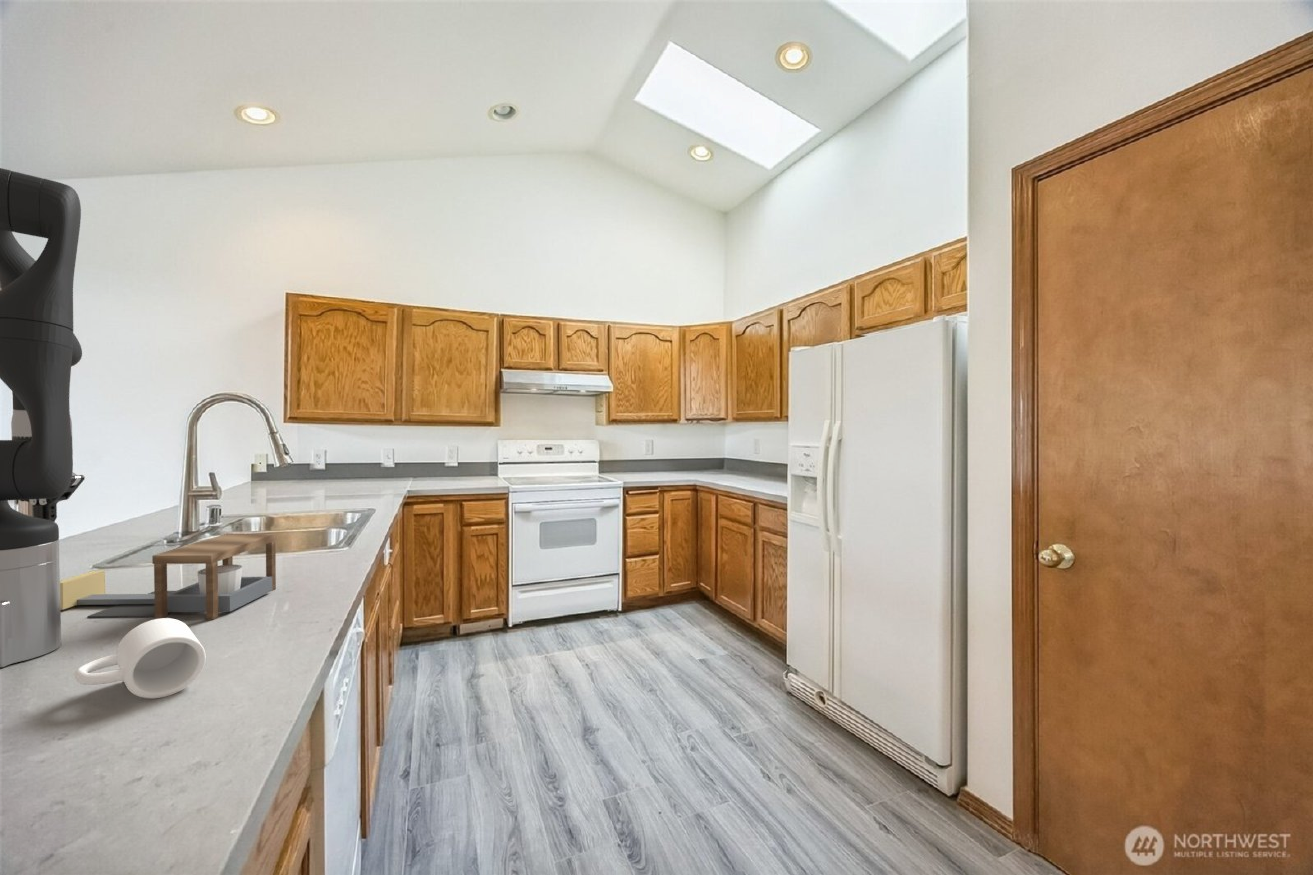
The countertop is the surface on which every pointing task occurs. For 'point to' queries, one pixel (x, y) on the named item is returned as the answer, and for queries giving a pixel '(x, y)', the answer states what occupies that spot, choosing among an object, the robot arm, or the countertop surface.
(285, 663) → the countertop surface
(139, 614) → the mat
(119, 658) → the mug
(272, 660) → the countertop surface
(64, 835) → the countertop surface
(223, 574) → the white cup
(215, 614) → the small wooden table
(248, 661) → the countertop surface
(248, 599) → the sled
